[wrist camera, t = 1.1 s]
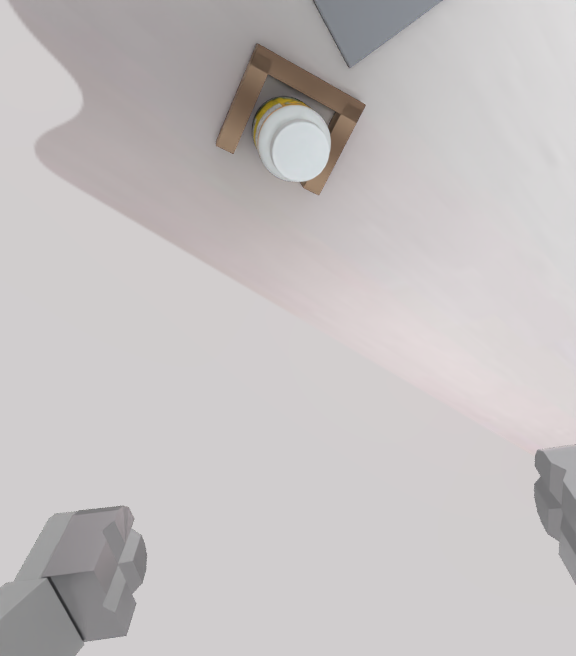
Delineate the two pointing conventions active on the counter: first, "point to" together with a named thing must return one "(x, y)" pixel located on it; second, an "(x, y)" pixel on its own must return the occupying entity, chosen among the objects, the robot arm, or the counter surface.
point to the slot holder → (306, 84)
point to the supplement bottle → (291, 139)
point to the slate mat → (368, 22)
